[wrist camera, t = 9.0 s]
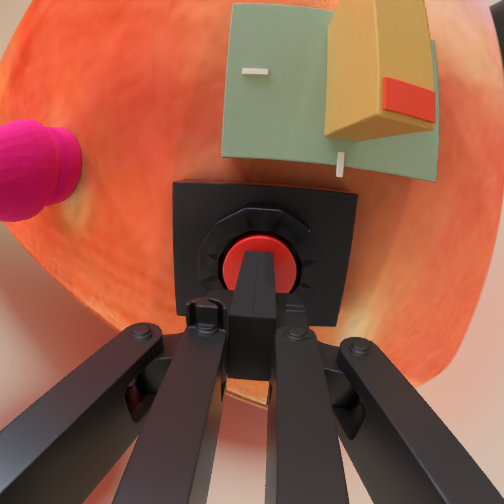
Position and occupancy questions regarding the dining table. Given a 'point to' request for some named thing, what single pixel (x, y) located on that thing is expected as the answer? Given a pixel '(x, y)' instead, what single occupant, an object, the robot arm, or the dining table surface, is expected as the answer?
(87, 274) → the dining table surface
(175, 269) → the button block
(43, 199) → the pepper mill
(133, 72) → the dining table surface
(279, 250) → the button
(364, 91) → the handle
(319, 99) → the plate
